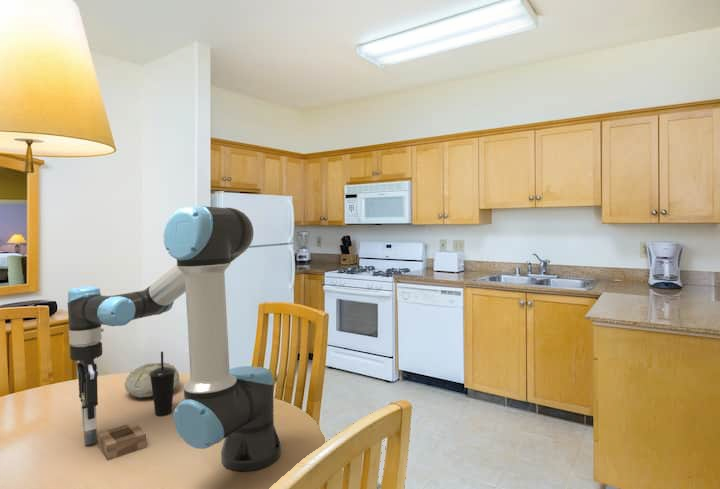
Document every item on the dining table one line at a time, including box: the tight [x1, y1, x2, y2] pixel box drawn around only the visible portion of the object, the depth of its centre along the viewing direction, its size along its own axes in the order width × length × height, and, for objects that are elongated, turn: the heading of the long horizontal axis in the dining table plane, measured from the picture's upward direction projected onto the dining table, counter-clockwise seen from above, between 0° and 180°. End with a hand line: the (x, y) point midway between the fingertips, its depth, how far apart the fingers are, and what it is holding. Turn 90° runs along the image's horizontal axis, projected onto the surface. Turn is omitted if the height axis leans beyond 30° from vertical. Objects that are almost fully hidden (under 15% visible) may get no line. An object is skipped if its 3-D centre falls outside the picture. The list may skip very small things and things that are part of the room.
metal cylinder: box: [81, 392, 98, 446], centre depth 120 cm, size 3×3×14 cm
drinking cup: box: [149, 351, 175, 417], centre depth 140 cm, size 8×8×20 cm
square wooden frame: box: [97, 421, 147, 461], centre depth 119 cm, size 9×9×4 cm
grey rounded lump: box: [124, 362, 180, 398], centre depth 157 cm, size 18×18×10 cm
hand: (89, 427), depth 121 cm, fingers closed on metal cylinder, 3 cm apart
